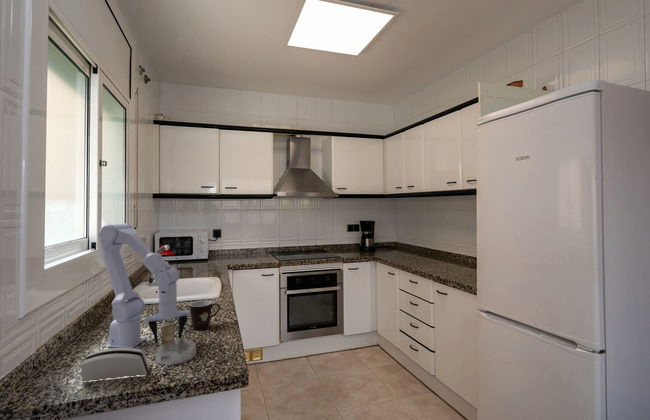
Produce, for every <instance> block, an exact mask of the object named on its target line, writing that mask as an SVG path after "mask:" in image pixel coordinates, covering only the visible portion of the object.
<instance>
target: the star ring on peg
mask: <svg viewBox="0 0 650 420" xmlns="http://www.w3.org/2000/svg"><path fill="white" fill-rule="evenodd" d="M196 356H197V344H196V341H192V340H190V339H189V340H186V339H179V340H174V341H172V342H169V343H166V344H163V345H162V344H161V345H160V346H158V347H157V348H156V349H155V363H156V362H158V363H160V364H175V365H178V364H177V363H181V364H183V363H182V362H184V363H186V362H188V360H189V361H191V360H192V359H193V358H194V357H196ZM190 359H191V360H190ZM185 361H186V362H185ZM158 363H157V364H158ZM160 364H159V365H160Z"/></svg>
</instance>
